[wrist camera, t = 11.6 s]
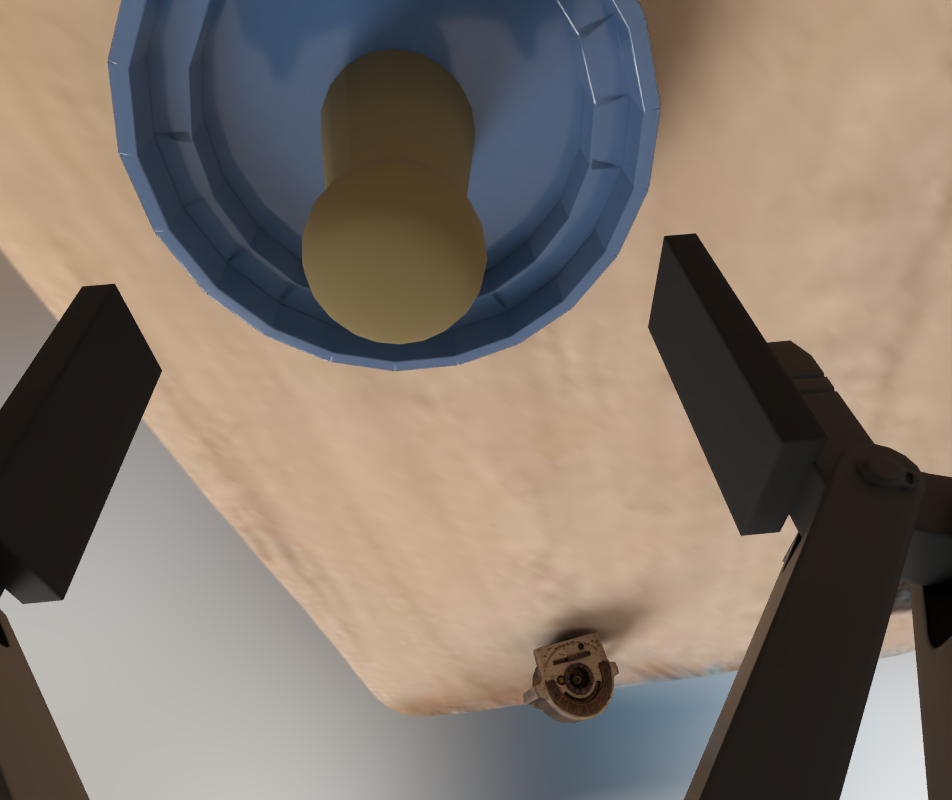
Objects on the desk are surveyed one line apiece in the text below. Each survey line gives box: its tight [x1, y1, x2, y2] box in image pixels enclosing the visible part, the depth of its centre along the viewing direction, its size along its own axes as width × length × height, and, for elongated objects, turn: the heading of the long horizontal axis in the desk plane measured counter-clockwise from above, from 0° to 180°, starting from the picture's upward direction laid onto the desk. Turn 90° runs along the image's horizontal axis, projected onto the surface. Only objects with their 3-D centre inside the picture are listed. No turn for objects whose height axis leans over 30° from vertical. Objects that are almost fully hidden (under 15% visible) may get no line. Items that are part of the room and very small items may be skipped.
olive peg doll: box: [302, 49, 487, 344], centre depth 21 cm, size 6×6×11 cm
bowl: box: [108, 0, 661, 371], centre depth 23 cm, size 18×18×4 cm
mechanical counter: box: [523, 632, 619, 723], centre depth 58 cm, size 7×13×10 cm
